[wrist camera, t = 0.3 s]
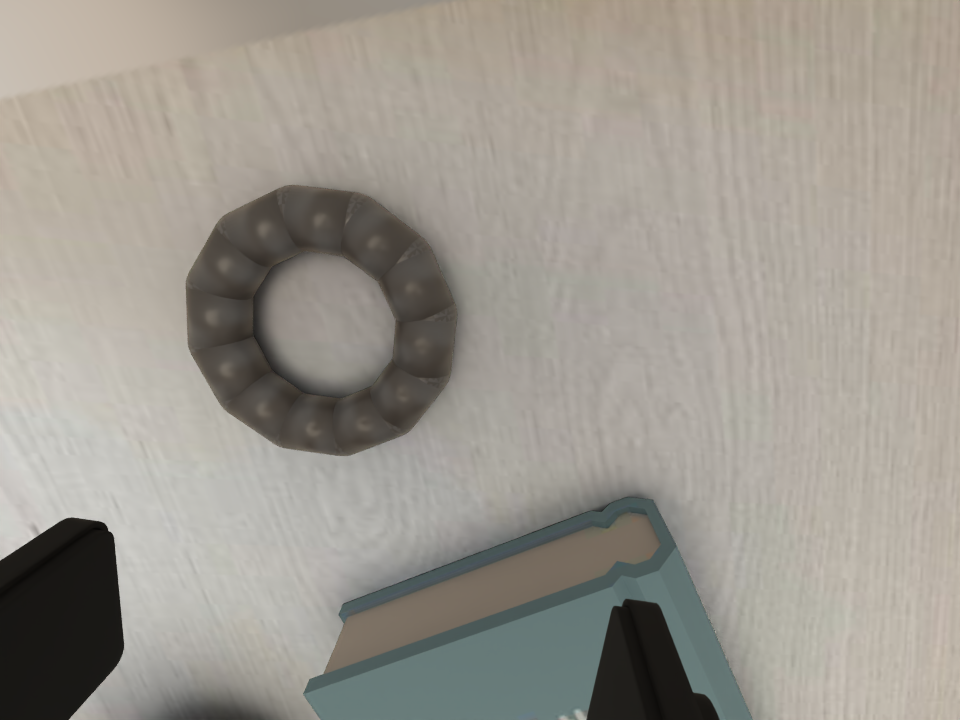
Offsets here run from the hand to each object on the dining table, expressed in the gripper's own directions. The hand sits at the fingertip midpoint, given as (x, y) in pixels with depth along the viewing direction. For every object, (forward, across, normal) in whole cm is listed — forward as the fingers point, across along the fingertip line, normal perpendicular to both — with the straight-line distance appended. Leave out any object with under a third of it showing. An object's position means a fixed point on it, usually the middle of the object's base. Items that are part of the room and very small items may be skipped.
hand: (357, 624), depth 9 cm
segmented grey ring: (+12, +5, -2) cm, 13 cm away
